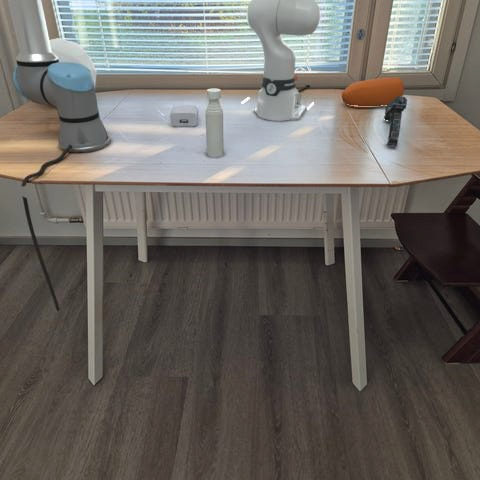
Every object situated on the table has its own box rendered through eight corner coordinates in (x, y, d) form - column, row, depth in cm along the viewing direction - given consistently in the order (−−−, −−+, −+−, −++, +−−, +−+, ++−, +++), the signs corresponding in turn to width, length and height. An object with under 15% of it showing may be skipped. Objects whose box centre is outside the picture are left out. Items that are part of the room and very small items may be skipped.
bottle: (207, 157, 122) (205, 94, 111) (206, 151, 126) (204, 89, 115) (224, 157, 122) (223, 93, 112) (222, 150, 126) (221, 88, 116)
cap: (207, 99, 112) (207, 92, 111) (206, 95, 116) (206, 88, 114) (221, 99, 113) (221, 91, 112) (220, 95, 116) (219, 88, 115)
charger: (199, 113, 156) (197, 126, 144) (175, 113, 156) (171, 126, 143) (198, 100, 153) (196, 113, 141) (174, 100, 153) (170, 113, 141)
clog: (345, 115, 162) (406, 107, 163) (347, 87, 156) (410, 79, 157) (336, 106, 172) (394, 98, 173) (337, 80, 166) (397, 72, 167)
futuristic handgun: (389, 146, 153) (397, 104, 149) (399, 145, 125) (409, 94, 122) (379, 144, 154) (386, 103, 150) (386, 144, 126) (395, 93, 122)
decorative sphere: (40, 71, 170) (16, 23, 147) (101, 69, 175) (88, 22, 151) (40, 120, 164) (15, 77, 140) (104, 116, 168) (91, 75, 144)
